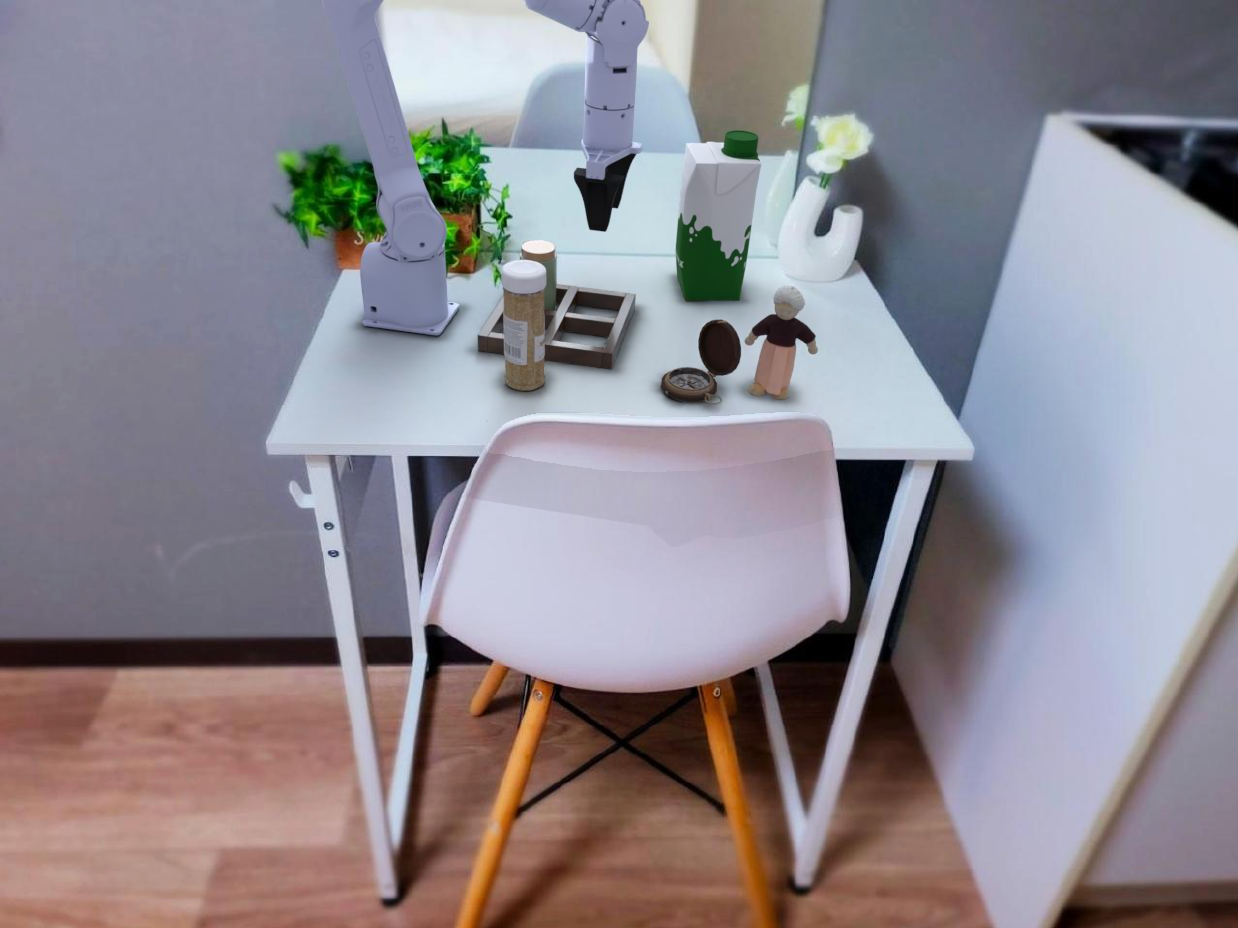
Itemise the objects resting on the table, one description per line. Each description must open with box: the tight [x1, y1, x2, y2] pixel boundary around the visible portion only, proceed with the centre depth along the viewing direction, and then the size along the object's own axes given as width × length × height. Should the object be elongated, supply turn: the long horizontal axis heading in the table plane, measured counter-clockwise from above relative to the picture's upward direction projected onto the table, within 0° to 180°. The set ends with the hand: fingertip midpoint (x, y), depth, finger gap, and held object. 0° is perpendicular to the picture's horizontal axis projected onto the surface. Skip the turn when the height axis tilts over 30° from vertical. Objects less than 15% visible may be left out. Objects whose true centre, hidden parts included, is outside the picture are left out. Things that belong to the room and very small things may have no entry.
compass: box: [660, 318, 742, 405], centre depth 105 cm, size 8×8×7 cm
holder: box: [477, 283, 637, 370], centre depth 117 cm, size 16×16×2 cm
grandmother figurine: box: [744, 285, 819, 400], centre depth 104 cm, size 8×4×13 cm, turn 87°
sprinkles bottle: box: [500, 259, 546, 392], centre depth 103 cm, size 5×5×13 cm
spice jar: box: [519, 239, 558, 311], centre depth 119 cm, size 4×4×8 cm
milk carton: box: [675, 129, 762, 301], centre depth 123 cm, size 9×9×20 cm
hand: (604, 218), depth 119 cm, fingers open, 7 cm apart
